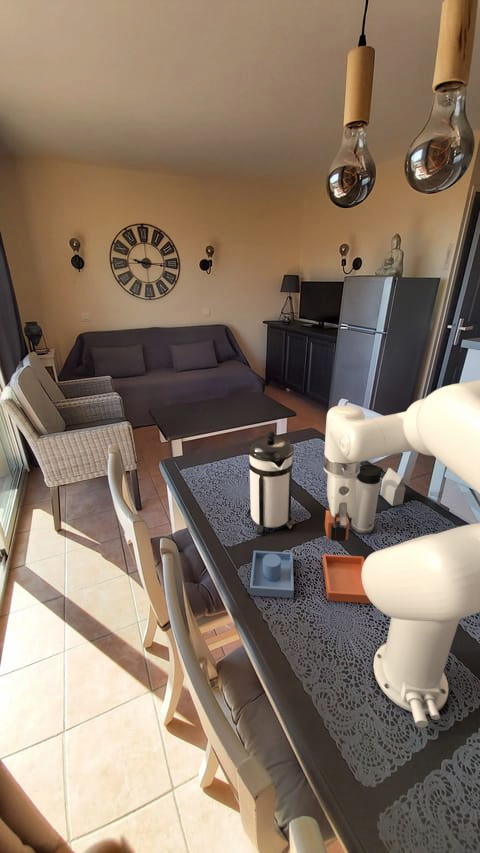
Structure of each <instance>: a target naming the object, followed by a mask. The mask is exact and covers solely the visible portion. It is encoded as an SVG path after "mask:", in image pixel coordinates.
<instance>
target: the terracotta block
mask: <svg viewBox="0 0 480 853" xmlns="http://www.w3.org/2000/svg"><path fill="white" fill-rule="evenodd" d="M328 510H329V509H328ZM328 510H327V509H326V510H325V516H324V518H325V519H324V530H325V535H326V539H327V540H331V526H332V525H333V516H332V515H331V511H328ZM338 513H339V512H338ZM337 521H339V517H336V522H337ZM349 530H350V520H349V516H347V528H346V539H345V541H346V540H349Z"/></svg>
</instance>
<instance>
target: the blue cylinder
mask: <svg viewBox="0 0 480 853" xmlns="http://www.w3.org/2000/svg"><path fill="white" fill-rule="evenodd" d="M280 576H281V559H280V557H279V556H278V555H276V554H267V555H265V556H264V558H263V577H264V578H265V579H266V580H267V581H270V582H274V581H277V580H279V578H280Z"/></svg>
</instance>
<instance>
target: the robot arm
mask: <svg viewBox="0 0 480 853" xmlns="http://www.w3.org/2000/svg"><path fill="white" fill-rule="evenodd" d="M325 420H326V421H325V423H326V424H325V437H324V453H323V454H324V455H323V471H324V472H325V474H326V473H327V479H326V480H327V481H326V497H327V502H328V508H329V509H328V511H331V515H332V516H333V525H332V526H331V539H330V540H331V541H333V542H335V541H336V542H345V541H346V540H345V539H346V528H347V517H348V519H352V518H354V516H355V500H356V477H357V475H358V474H359V471H360V466H361V463H363V462H366V461H372V460H377V459H379V458H384V457H389V456H393V455H398V454H403V453H408V452H418V453H420V454H422V455H425V456H428V457H429V456H430V457H431V456H432V457H434V458H436V459H437V460H438V461H439V463H440V464H442V465H443V466H444V467H445V468H446V469H448V470H449V471H450V472H451V473H452V474H454V475H455V476H456V477H458V478H459V479H460V481H462V482H464V483H465V485H468V486H469V487H470V488H471V489H473V490H474V491H475V492H476V493H478V494H479V495H480V379H477V380H471V381H465V382H458V383H452V384H449V385H445V386H441V387H439V388H437V389H435V390H433V391H432V392H430V393H429V394H428V395H427V396H426V397H425V398H421V399H418V400H416V401H414V402H413V403H411V404H410V405H409V407H408V408H407V409H406V411H401V412H397V413H392V414H387V415H382V416H381V415H380V416H376V417H369V418H366V415H365V412H364V411H363V410H362V409H361V408H360V407H357V406H353V405H347V404H344V405H341V404H340V405H335V406H332V407H331V408H329V410H328V411H327V414H326V419H325ZM338 512H339V513H338ZM336 517H339V521H337V522H336ZM364 560H365V562H364V564H363V567H362V573H361V578H362V585H363V588H364V591H365V593H366V595H367V597H368V598H369V600H370V601H371V602H372V605H373V606H374V607H375V608H376V610H378V611H380V612H381V613H382V614H384V615H385V616H387V617H390V618H391V619H390V621H389V628H388V632H387V633H388V634H387V637H386V643H383V644H382V645H381V646H379V648H377V650H376V652H375V654H374V657H373V664H372V665H373V666H372V667H373V674H374V677H375V680H376V682H377V684H378V685H379V688H380V689H381V690H382V692H383V693H384V695H386V697H387V698H388V699H389V700H391V702H393V703H394V704H395V705H397V706H398V707H400V708H401V709H403V710H405V711H408V712H411V713H412V717H413V720H414V723H415V726H416V727H418V728H420V729H421V728H423V729H424V728H426V727H428V726H429V722H428V719H427V715H429V716H430V718H431V719H432V720H434V721H437V720H439V719H441V716H440V713H439V711H440V710H441V709H442V708H443V707H444V706H445V704H446V702H447V699H448V697H449V682H448V679H447V675H446V674H445V668H446V664H447V661H448V658H449V655H450V651H451V649H452V648H451V647H452V645H453V641H454V638H455V636H456V632H457V629H458V627H459V626H458V625H459V624H460V621H461V620H462V619H464V618H465V619H466V618H468V617H470V616H473V615H475V614H477V613H480V522H477V523H470V524H465V525H461V526H457V527H454V528H450V529H447V530H444V531H441V532H438V533H431V534H426V535H422V536H419V537H418V536H417V537H415V538H412V539H408V540H405V541H403V542H400V543H397V544H394V545H391V546H388V547H385V548H381V549H378V550H375V551H374V552H372V553H370V554H369V555H367V557H366V559H364Z"/></svg>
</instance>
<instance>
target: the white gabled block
mask: <svg viewBox="0 0 480 853" xmlns="http://www.w3.org/2000/svg"><path fill="white" fill-rule="evenodd" d="M380 485H381V486H380V492H379V495H380V496H381V497H382V498H383V499H384V500H386V502H387V503H388V504H390V506H392V507H394V506H400V505H403V504H404V498H405V493H406V486H405V483H404V477H402V476H401V475H400V474H399V473H397V472H396V471H395V470H394V469H393V468H391V467H388V468H387V471H386V472H385V474H384V475H383V477H382V479H381V484H380Z"/></svg>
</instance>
